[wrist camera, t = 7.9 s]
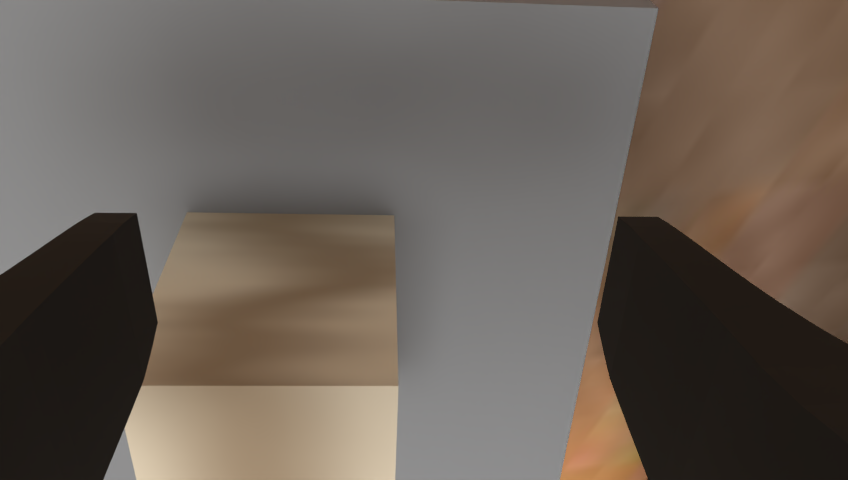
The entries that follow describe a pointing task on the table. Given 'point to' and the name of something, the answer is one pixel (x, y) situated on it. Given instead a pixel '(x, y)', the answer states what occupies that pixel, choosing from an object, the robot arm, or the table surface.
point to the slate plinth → (358, 172)
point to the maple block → (272, 352)
